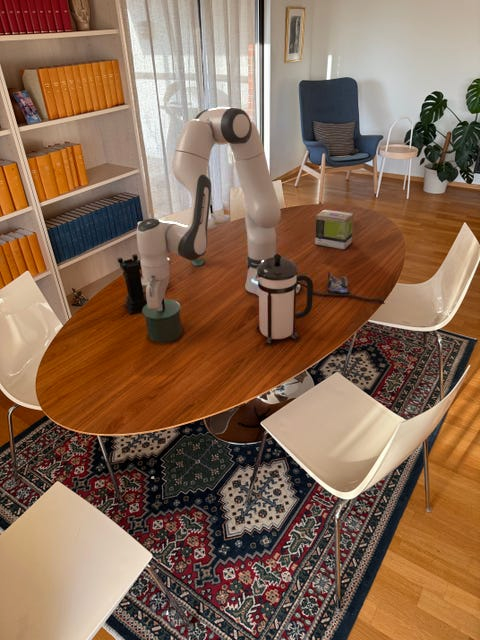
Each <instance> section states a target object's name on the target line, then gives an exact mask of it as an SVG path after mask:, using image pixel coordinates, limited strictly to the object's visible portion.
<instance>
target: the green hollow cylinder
mask: <svg viewBox="0 0 480 640" xmlns="http://www.w3.org/2000/svg"><path fill="white" fill-rule="evenodd" d="M144 318H145V319H144V320H145V322H146V329H147V335H148V338H149V339H150V340H151V341H152V342H155V343H162V344H163V343H164V344H165V343H169V342H173V341H176V340H178V339H179V338H180V336H182V334H183V324H182V318H181V310H180V311H179V313H178V314H176V315H175V316H173V317H171V318H168V319H163V320H153V319H149V318H147V317H145V316H144Z"/></svg>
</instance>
